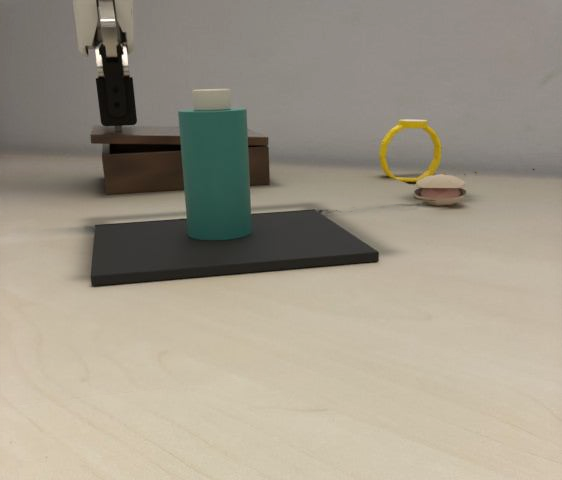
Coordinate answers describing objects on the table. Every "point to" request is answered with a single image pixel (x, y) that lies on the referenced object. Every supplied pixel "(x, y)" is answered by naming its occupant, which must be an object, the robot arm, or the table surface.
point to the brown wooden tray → (162, 167)
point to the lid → (152, 135)
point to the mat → (221, 248)
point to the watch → (402, 124)
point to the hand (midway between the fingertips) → (118, 122)
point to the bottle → (215, 167)
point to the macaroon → (440, 189)
